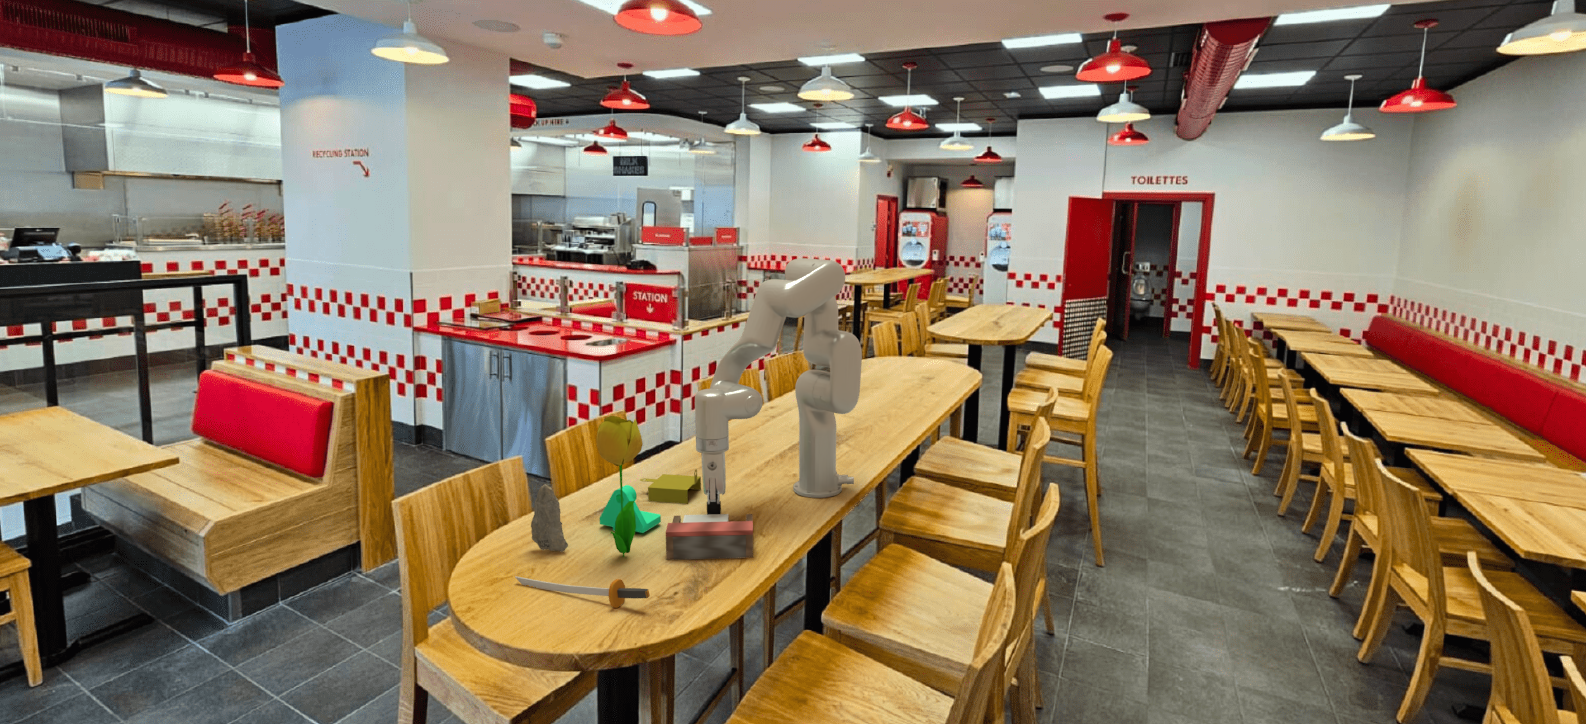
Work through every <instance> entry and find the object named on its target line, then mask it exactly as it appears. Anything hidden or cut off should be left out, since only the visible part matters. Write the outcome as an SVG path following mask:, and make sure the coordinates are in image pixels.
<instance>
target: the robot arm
mask: <svg viewBox="0 0 1586 724" xmlns="http://www.w3.org/2000/svg"><path fill="white" fill-rule="evenodd" d="M845 272H846V271H845V269H844V268H843V266H842V265H841V264H840V263H839V262H838V261H835V260H832V259H831V260H830V259H819V258H805V257H803V258H802V257H801V258H795V259H792V260H790V261H789V262H788V263H787V264H786V265H785V269H784V277H785V279H779V278H773V279H768V280H767V279H766V280H765V281H762V283H760V285H759V286H758V288H757V291H756V293H755V296H754V299H753V302H752V305H751V307H750V311H749V314H748V317H747V319H746V322H745V324H744V328H743V331H742V334H741V336H740V338H739V339H738V341H736V342H735V343H734V344H733V345H732V346H731V347H730V348H729V350H727V352H726V353H725V354H724V355H723V357H722V358H721V360H720V361H719V363H718V365H717V366H716V369H715V372H714V374H713V377H712V381H711V383H710V386H709V387H710V388H705V389H701V390H698V391H697V392H696V394H695V396H694V417H695V418H694V419H695V420H694V422H695V451H696V452H697V453H699V454H700V453H701V475H702V476H701V478H702V486H703V488H702V489H703V494H704V496H705V495H706V496H707V498H706V499H707V501H706V514H722V502H721V500H720V498H721V497H720V495H722V496H724V495H725V494H726V485H727V483H726V482H727V481H726V479H727V478H726V452H728V451H729V449H730V439H729V438H730V435H729V434H730V433H729V431H730V430H729V426H730V425H729V421H730V420H748V419H751V418H753V417H755V416H757V415H758V414H759V413H760V412H761V410H762V408H763V405H764V404H763V397H762V395H761V393H760V392H759V390H757V389H755V388H753V387H751V386H747V385H743V384H740V380H741V377H742V374H743V373H744V371H745V370H746V369H747V367H748V366H749V365H751V364H752V363H753V362H754V361H756V360H758V359H760V358H763V357H764V356H766V355H768V354H770V353H772V352H773V351H774V350H776V348H777V344H778V343H779V342H778V341H779V339H780V336H781V332H782V329H783V327H784V325H785V321H786V319H787V317H788V318H793V319H794V318H796V319H797V318H801V317H804V321H803V324H804V325H803V339H802V340H803V343H802V351H803V353H802V354H803V357H804V359H805V360H806V361H807V362H809V364H813V365H816V366H820V367H823V368H824V367H825V368H829V371H825V370H821V369H808V370H806V371H803V372H802V373H801V374H800V375H799V377H798V378H797V380H796V383H795V386H794V388H795V389H794V390H795V392H794V394H795V399H796V405H797V411H798V424H799V426H798V429H799V431H798V432H799V433H798V434H799V435H798V440H799V441H798V445H799V446H798V448H799V449H798V450H799V451H798V452H799V453H798V454H799V455H798V457H799V458H798V459H799V460H798V468H799V469H798V471H799V472H798V478H799V479H798V480H797V481H795V483H794V484H793V486H792V490H793V491H794V492H795V494H796V495H799V496H802V497H806V498H813V499H815V498H816V499H821V498H822V499H823V498H829V497H830V498H831V497H834V496H837V495H838V494H840V493H841V492H842V489H843V488H842V487H843V486H842V485H854V484H855V477H854V476H849V475H848V474H839V473H838V471H837V467H836V466H837V420H836V415H835V414H838V415H846V414H849V413H851V412H852V411H853V410H854V409H855V408H856V406H857V404H858V402H859V398H860V391H861V379H862V378H861V377H862V363H863V362H862V361H863V358H862V357H863V353H862V346H861V342H860V341H859V339H858V338H857V336H856V335H855V334H853V333H851V332H850V331H845V330H839V306H838V302H837V298H836V296H837V295H838V294H839V293H840V292H841V291H842V289H843V288H844V285H845V283H846V273H845Z"/></svg>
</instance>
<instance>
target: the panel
mask: <svg viewBox="0 0 1586 724" xmlns="http://www.w3.org/2000/svg"><path fill="white" fill-rule="evenodd" d="M682 519H683V521H682V523H688V522H730V521H729V513H726V514H725V513H721V514H707V513H706V514H684V516H683V518H682Z"/></svg>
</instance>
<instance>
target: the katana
mask: <svg viewBox="0 0 1586 724" xmlns="http://www.w3.org/2000/svg"><path fill="white" fill-rule="evenodd" d="M514 577H515V579H516V580H517V581H518V582H519V584H521V585H523V586H526V585H529V586H528V587H531V586H533V587H532V588H535V587H536V588H535V589H541V590H546V591H552V592H559V593H567V594H575V595H576V594H577V595H578V594H579V595H590V596H591V595H593V596H603V597H608V600H609V604H610V606H611V607H612V608H614V609H618V608H620V607H621V606H622V605H623V604H624V603H625V601H626V599H649V597H650V596H651V595H650V590H649V589H648V588H640V587H639V588H638V587H637V588H636V587H626V585H625V583H624V581H623V579H621V578H620V579H619V578H615V579H614V580H612V582H611V583H610V585H609V588H608V587H607V588H606V587H594V586H582V585H569V584H564V583H563V584H562V583H557V582H556V583H555V582H550V581H548V582H547V581H545V580H544V581H542V580H537V579H532V578H526V577H521V576H516V575H515V576H514ZM621 604H622V605H621ZM620 605H621V606H620ZM619 606H620V607H619Z"/></svg>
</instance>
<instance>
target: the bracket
mask: <svg viewBox="0 0 1586 724" xmlns="http://www.w3.org/2000/svg"><path fill="white" fill-rule="evenodd" d="M701 478H702V476H699V475H698V470H697V469H696V468H695V470H694V475H684V474H682V475H681V474H667V473H662V475H659V477H658V478H657V479H656V478H640V479H639V481H640V482H649V483H651V484H650V485H648V486H647V497H648V502H655V503H671V504H682V505H688V504H689V500H688V499H689V498H688V490H697V491H701V490H702V481H701V480H702V479H701Z"/></svg>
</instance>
